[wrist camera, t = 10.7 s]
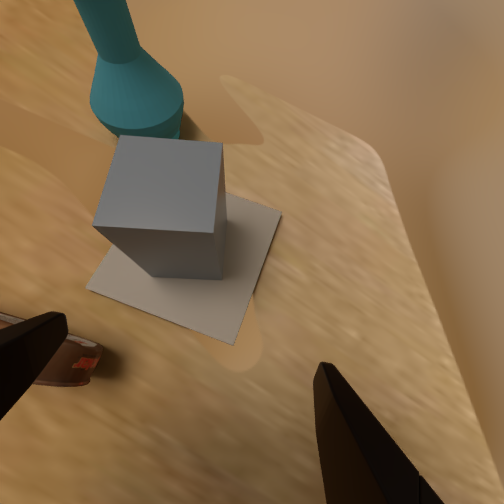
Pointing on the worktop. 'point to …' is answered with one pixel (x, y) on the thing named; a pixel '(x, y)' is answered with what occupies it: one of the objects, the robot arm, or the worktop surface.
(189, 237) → the gray rectangular block
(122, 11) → the teal vase
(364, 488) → the robot arm
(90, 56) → the worktop surface
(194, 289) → the thin square base plate
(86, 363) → the tin
